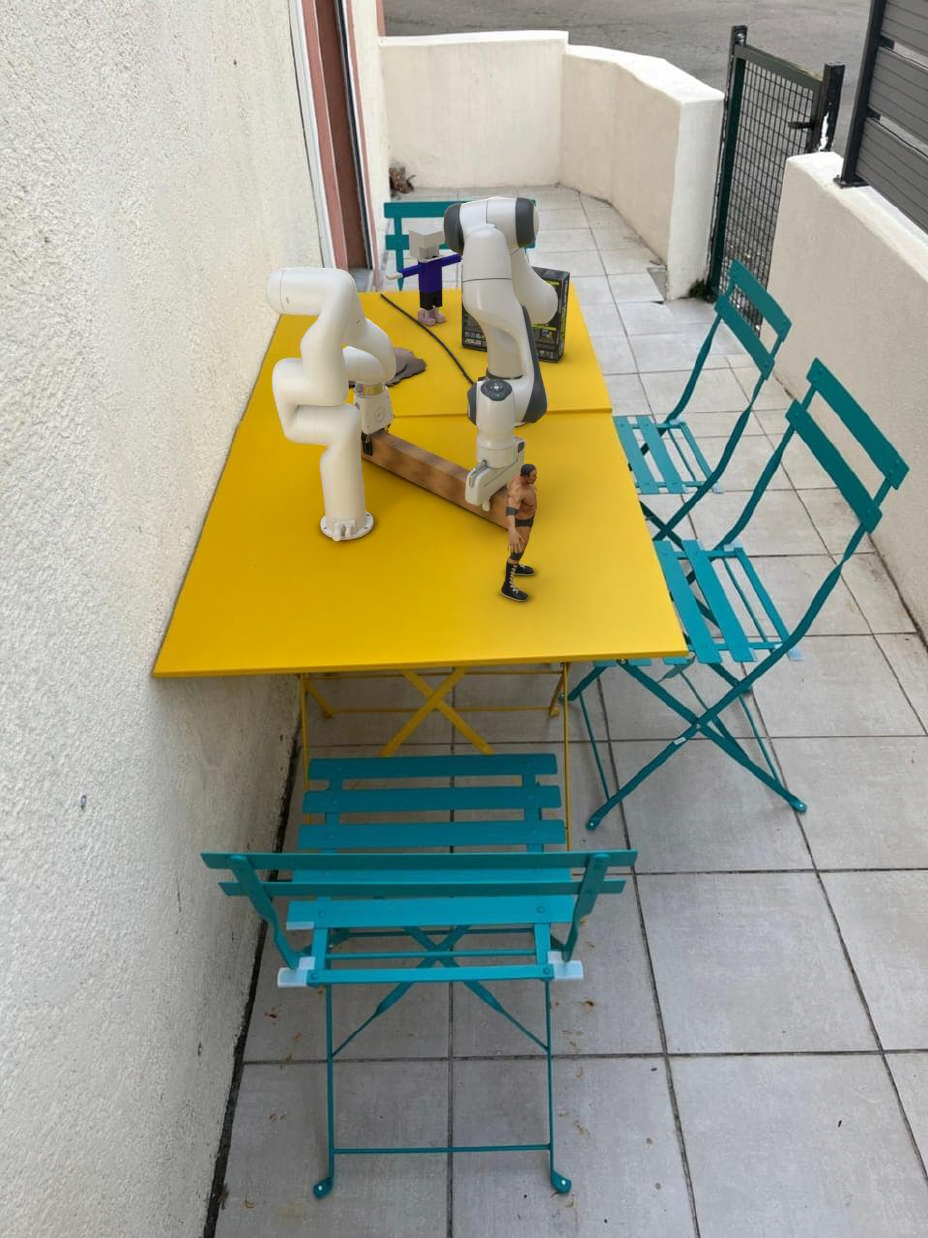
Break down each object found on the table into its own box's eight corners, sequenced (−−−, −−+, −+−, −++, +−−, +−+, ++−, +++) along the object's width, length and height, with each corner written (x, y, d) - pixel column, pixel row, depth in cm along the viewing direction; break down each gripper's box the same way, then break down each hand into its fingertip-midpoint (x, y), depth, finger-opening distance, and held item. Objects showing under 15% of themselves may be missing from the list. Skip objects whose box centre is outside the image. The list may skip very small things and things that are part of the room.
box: (565, 354, 285) (571, 269, 268) (558, 363, 280) (563, 277, 263) (468, 339, 295) (468, 256, 278) (460, 347, 290) (459, 264, 272)
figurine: (524, 621, 184) (530, 498, 165) (494, 617, 185) (497, 494, 166) (540, 553, 202) (547, 435, 183) (512, 550, 203) (516, 432, 184)
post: (350, 451, 237) (347, 425, 232) (362, 444, 239) (360, 419, 234) (511, 530, 208) (512, 504, 203) (523, 522, 211) (524, 495, 206)
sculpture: (406, 397, 263) (403, 345, 252) (297, 384, 270) (290, 333, 259) (437, 352, 287) (436, 303, 277) (336, 341, 294) (331, 293, 284)
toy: (460, 304, 319) (459, 216, 299) (477, 312, 313) (477, 222, 294) (381, 329, 302) (375, 237, 283) (398, 337, 296) (393, 244, 277)
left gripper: (355, 401, 214) (361, 467, 226) (404, 378, 224) (408, 443, 236) (334, 392, 218) (341, 457, 230) (384, 370, 228) (388, 434, 240)
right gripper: (481, 475, 194) (481, 527, 203) (530, 437, 207) (527, 488, 216) (457, 467, 197) (458, 519, 206) (507, 430, 210) (506, 480, 219)
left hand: (375, 449), depth 233 cm, fingers closed on post, 4 cm apart
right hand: (494, 503), depth 211 cm, fingers closed on post, 5 cm apart
